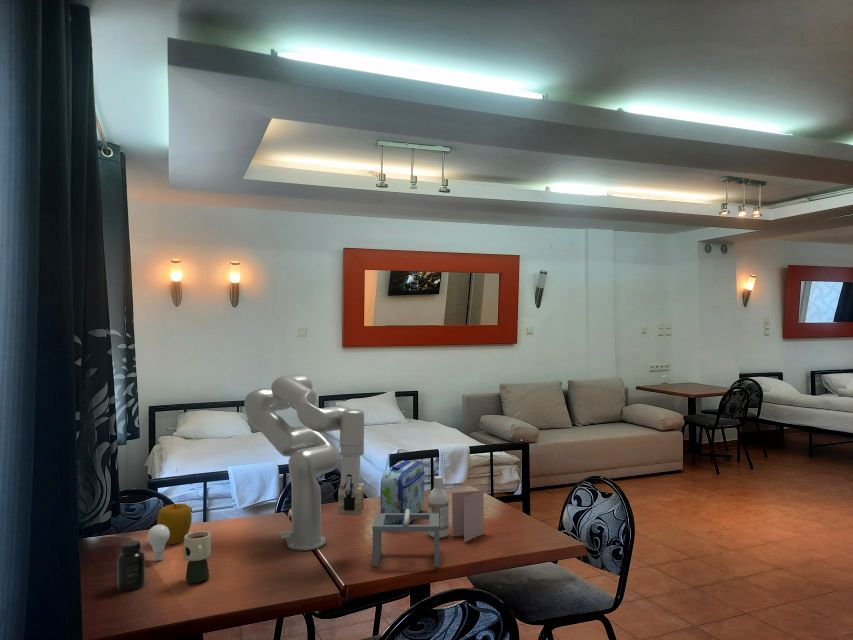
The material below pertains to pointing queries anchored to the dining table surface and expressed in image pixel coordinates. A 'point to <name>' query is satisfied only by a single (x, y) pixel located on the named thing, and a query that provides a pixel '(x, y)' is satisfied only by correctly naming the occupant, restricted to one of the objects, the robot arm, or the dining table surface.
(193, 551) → the character mug
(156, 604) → the dining table surface
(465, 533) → the greeting card
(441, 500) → the bath foam
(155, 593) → the dining table surface
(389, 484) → the lunch box
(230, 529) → the dining table surface
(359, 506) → the birch clip
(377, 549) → the shelf stand
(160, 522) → the apple
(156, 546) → the lightbulb
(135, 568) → the supplement bottle
